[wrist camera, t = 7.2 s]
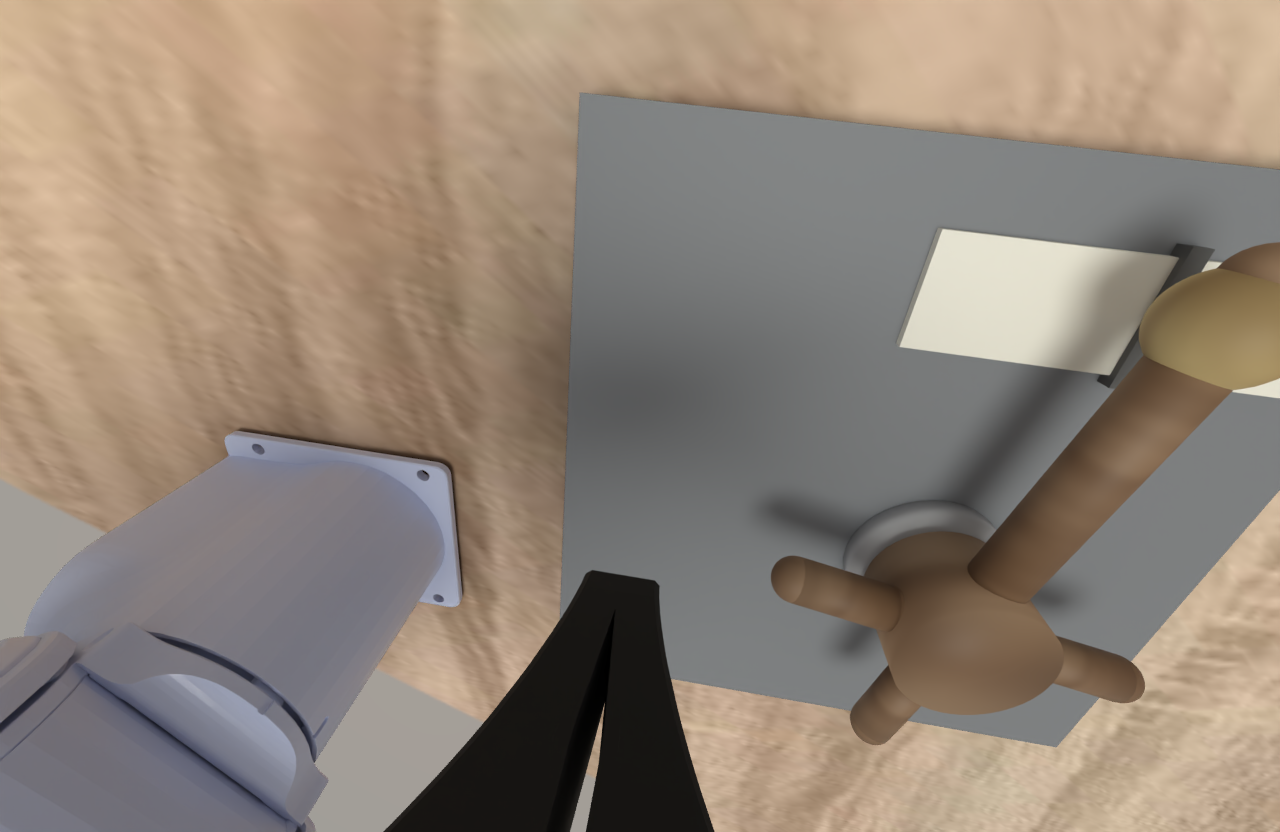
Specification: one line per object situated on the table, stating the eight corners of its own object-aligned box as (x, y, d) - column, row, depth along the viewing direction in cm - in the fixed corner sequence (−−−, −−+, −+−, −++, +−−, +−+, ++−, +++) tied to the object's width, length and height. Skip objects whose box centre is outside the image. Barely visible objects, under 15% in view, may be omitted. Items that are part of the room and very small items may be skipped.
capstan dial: (988, 725, 20) (1034, 819, 17) (707, 640, 20) (706, 721, 17) (1451, 309, 12) (1685, 360, 9) (972, 150, 11) (1059, 150, 9)
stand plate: (566, 631, 24) (553, 674, 22) (592, 97, 14) (572, 89, 12) (1036, 713, 23) (1067, 766, 21) (1448, 192, 13) (1587, 201, 11)
